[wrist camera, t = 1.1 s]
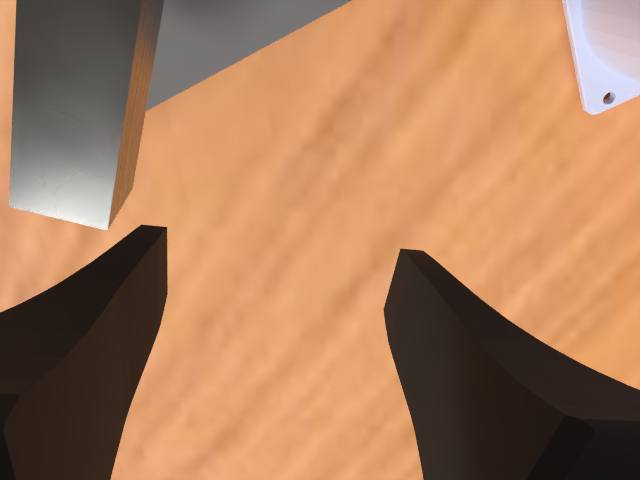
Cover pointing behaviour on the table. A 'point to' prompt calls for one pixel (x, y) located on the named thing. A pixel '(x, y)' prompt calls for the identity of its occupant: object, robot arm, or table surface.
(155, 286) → the robot arm
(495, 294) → the table surface
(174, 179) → the table surface
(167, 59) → the charcoal trivet mat
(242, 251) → the table surface
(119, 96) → the cooker lid
